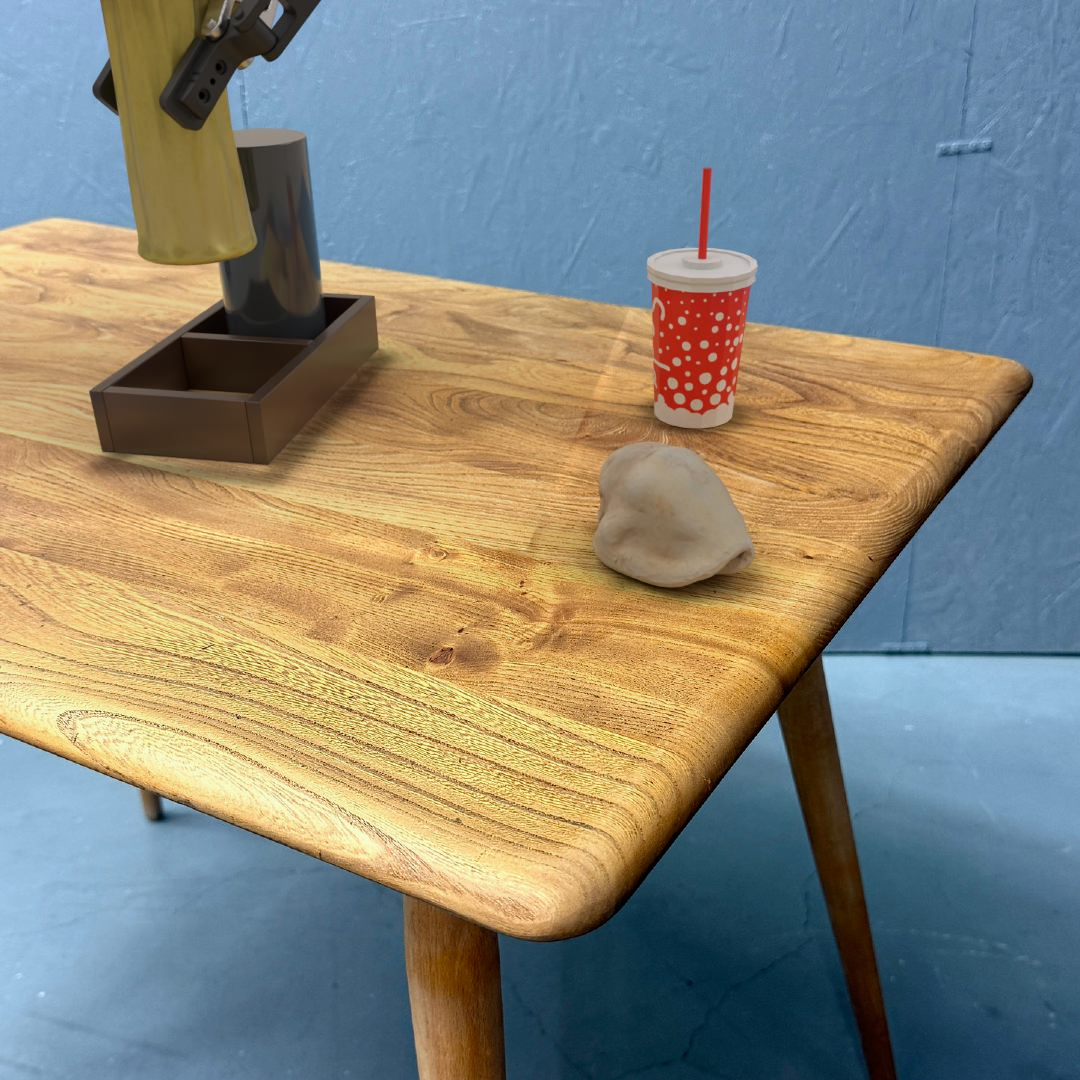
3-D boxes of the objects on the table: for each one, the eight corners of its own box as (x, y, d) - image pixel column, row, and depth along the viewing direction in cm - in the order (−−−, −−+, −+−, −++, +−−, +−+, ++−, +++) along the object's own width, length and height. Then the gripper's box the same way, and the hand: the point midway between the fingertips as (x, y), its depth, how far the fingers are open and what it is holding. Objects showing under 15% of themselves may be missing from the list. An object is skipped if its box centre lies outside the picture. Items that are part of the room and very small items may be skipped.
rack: (103, 464, 63) (88, 390, 60) (245, 350, 78) (236, 288, 76) (269, 478, 61) (259, 402, 59) (380, 358, 77) (374, 295, 74)
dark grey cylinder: (218, 382, 71) (181, 145, 64) (257, 349, 76) (227, 127, 69) (310, 388, 70) (282, 148, 63) (343, 354, 75) (321, 129, 68)
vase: (243, 266, 58) (198, -52, 51) (122, 268, 58) (60, -49, 51) (268, 234, 63) (229, -57, 56) (156, 236, 63) (104, -55, 56)
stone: (730, 573, 57) (629, 447, 57) (800, 524, 51) (688, 385, 52) (639, 648, 53) (533, 513, 54) (704, 604, 48) (586, 455, 49)
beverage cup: (653, 388, 71) (663, 154, 64) (753, 399, 70) (773, 160, 63) (630, 426, 66) (637, 176, 59) (736, 439, 65) (756, 183, 58)
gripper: (173, -226, 59) (5, 50, 57) (357, -249, 51) (168, 73, 49) (271, -108, 65) (122, 145, 63) (449, -112, 57) (284, 179, 55)
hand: (143, 112), depth 56 cm, fingers closed on vase, 5 cm apart
